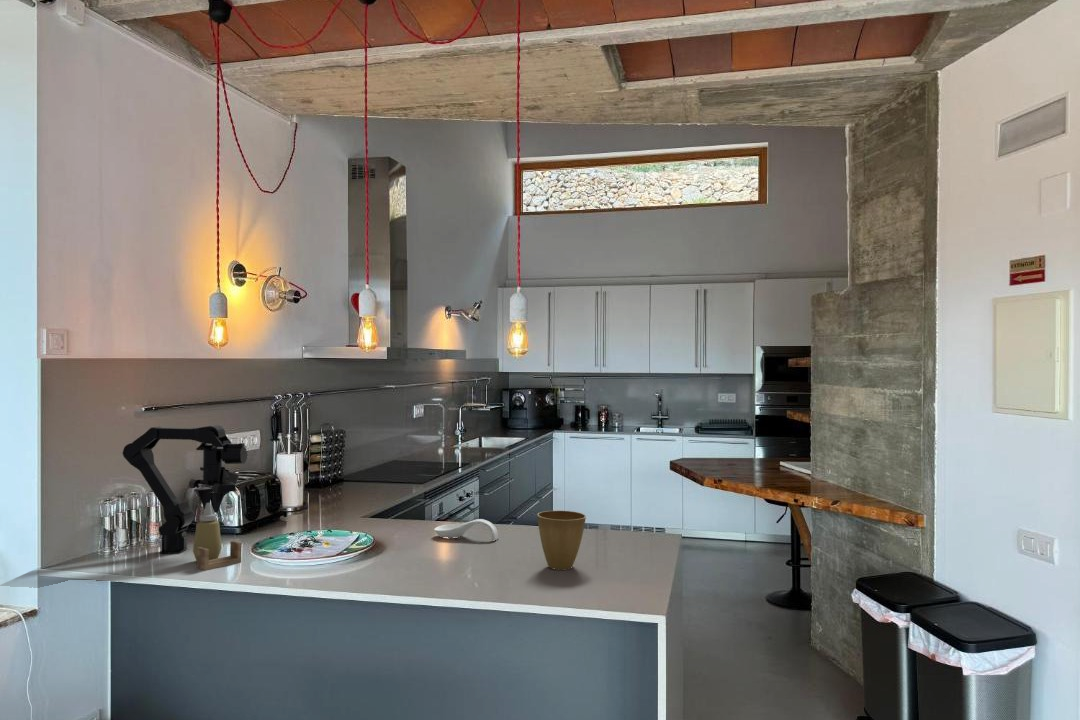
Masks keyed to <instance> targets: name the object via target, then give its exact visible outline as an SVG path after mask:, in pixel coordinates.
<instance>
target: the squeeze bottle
mask: <svg viewBox="0 0 1080 720" xmlns="http://www.w3.org/2000/svg"><path fill="white" fill-rule="evenodd" d="M195 525H196V526H195V534H194V542H193V549H192V552H193V557H194V559H195V561H196V562H197V556H198V547H203V548H206V549H209V560H213V559H217V558H220V557H219V556H220V554H221V550H222V540H221V538H222V537H221V526H220V522H219V521H218V520H217V513H214V512H213V507H212V503H211V502H210V503H206V506H205V509H204V511H203V514H200V515H199V521H198V522H197V523H196V524H195Z"/></svg>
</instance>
